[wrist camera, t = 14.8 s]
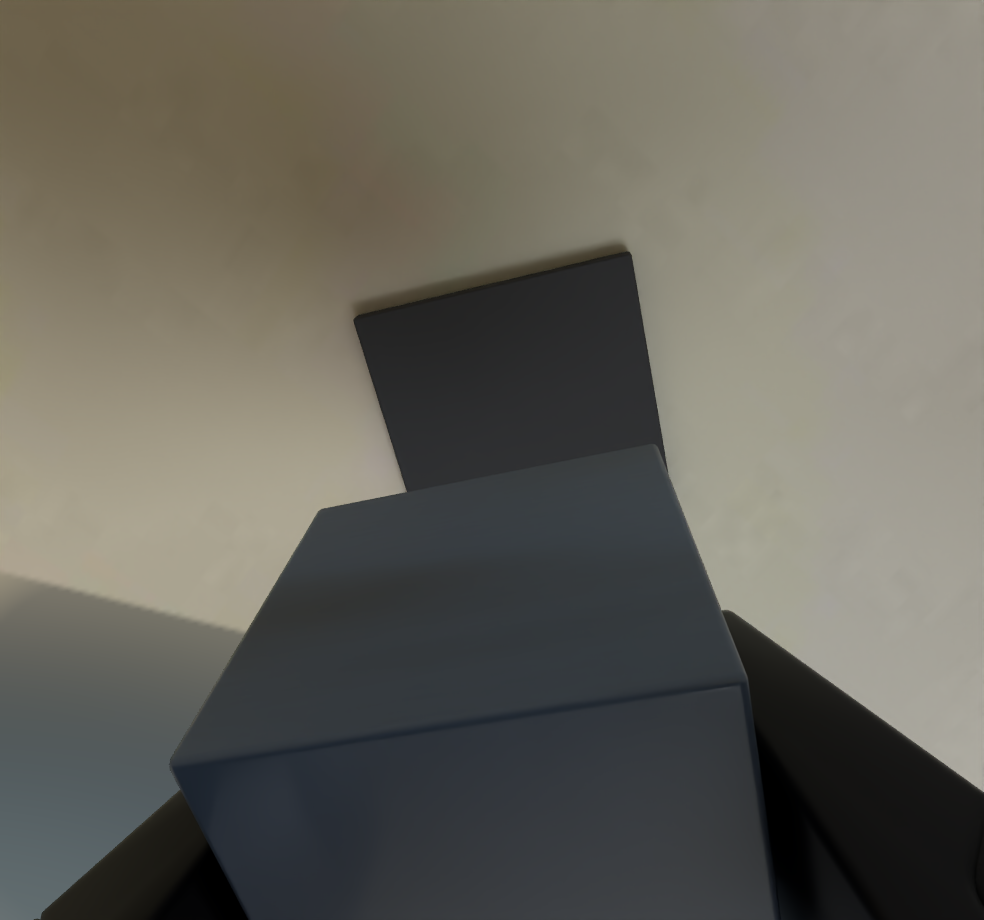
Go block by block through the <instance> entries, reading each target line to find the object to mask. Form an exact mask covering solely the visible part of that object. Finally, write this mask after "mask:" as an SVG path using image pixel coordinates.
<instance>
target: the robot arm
mask: <svg viewBox="0 0 984 920" xmlns="http://www.w3.org/2000/svg"><path fill="white" fill-rule="evenodd" d="M722 613H723V616H724V618H725V621H726V623H727V626H728V628H729V631H730V633H731V636H732V639H733V641H734V644H735V646H736V649H737V651H738V654H739V656H740V659H741V662H742V664H743V667H744V669H745V672H746V674H747V677H748V683H749V690H750V697H751V704H752V711H753V719H754V726H755V733H756V740H757V748H758V755H759V762H760V769H761V777H762V784H763V791H764V798H765V806H766V813H767V820H768V827H769V834H770V842H771V849H772V856H773V863H774V871H775V878H776V885H777V892H778V900H779V907H780V914H781V920H984V792H982V791H981V790H980V789H978V788H977V787H975V786H974V785H973V784H971V783H970V782H969V781H967V780H966V779H964V778H963V777H962V776H960V775H959V774H957V773H956V772H955V771H953V770H952V769H950V768H949V767H948V766H946V765H945V764H943V763H942V762H941V761H939V760H938V759H937V758H935V757H934V756H932V755H931V754H930V753H928V752H927V751H925V750H924V749H923V748H921V747H920V746H918V745H917V744H916V743H914V742H913V741H911V740H910V739H909V738H907V737H906V736H905V735H903V734H902V733H900V732H899V731H898V730H896V729H895V728H893V727H892V726H891V725H889V724H888V723H886V722H885V721H884V720H882V719H881V718H879V717H878V716H877V715H875V714H874V713H873V712H871V711H870V710H868V709H867V708H866V707H864V706H863V705H861V704H860V703H859V702H857V701H856V700H854V699H853V698H852V697H850V696H849V695H847V694H846V693H845V692H843V691H842V690H841V689H839V688H838V687H836V686H835V685H834V684H832V683H831V682H829V681H828V680H827V679H825V678H824V677H822V676H821V675H820V674H818V673H817V672H815V671H814V670H813V669H811V668H810V667H809V666H807V665H806V664H804V663H803V662H802V661H800V660H799V659H797V658H796V657H795V656H793V655H792V654H790V653H789V652H788V651H786V650H785V649H783V648H782V647H781V646H779V645H778V644H777V643H775V642H774V641H772V640H771V639H770V638H768V637H767V636H765V635H764V634H763V633H761V632H760V631H758V630H757V629H756V628H754V627H753V626H751V625H750V624H749V623H747V622H746V621H745V620H743V619H742V618H740V617H739V616H738V615H736V614H735V613H733V612H732V611H729V610H722ZM34 920H40V919H34ZM41 920H248V918H247V916H246V915H245V913H244V911H243V909H242V907H241V905H240V903H239V901H238V899H237V897H236V895H235V893H234V892H233V890H232V888H231V886H230V884H229V882H228V880H227V878H226V876H225V874H224V872H223V870H222V869H221V867H220V865H219V863H218V861H217V859H216V857H215V855H214V853H213V851H212V849H211V847H210V846H209V844H208V842H207V840H206V838H205V836H204V834H203V832H202V830H201V828H200V826H199V824H198V822H197V821H196V819H195V817H194V815H193V813H192V811H191V809H190V807H189V805H188V803H187V801H186V799H185V798H184V796H183V794H182V792H181V790H179V791H178V792H177V793H176V794H175V795H174V796H173V797H172V798H170V799H169V800H168V801H167V802H166V803H165V804H164V805H162V806H161V807H160V808H159V809H158V810H157V811H156V812H155V813H153V814H152V815H151V816H150V817H149V818H148V819H147V820H146V821H145V822H143V823H142V824H141V825H140V826H139V827H138V828H136V829H135V830H134V831H133V832H132V833H131V834H130V835H129V836H127V837H126V838H125V839H124V840H123V841H122V842H121V843H120V844H118V845H117V846H116V847H115V848H114V849H113V850H112V851H111V852H109V853H108V854H107V855H106V856H105V857H104V858H103V859H102V860H101V861H99V862H98V863H97V864H96V865H95V866H94V867H93V868H91V869H90V870H89V871H88V872H87V873H86V874H85V875H84V876H82V877H81V878H80V879H79V880H78V881H77V882H76V883H75V884H74V885H72V886H71V887H70V888H69V889H68V890H67V891H66V892H64V893H63V894H62V895H61V896H60V897H59V898H58V899H57V900H55V901H54V902H53V903H52V904H51V905H50V906H49V907H48V908H47V909H45V911H43V912H42V915H41Z"/></svg>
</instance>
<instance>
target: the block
mask: <svg viewBox="0 0 984 920" xmlns="http://www.w3.org/2000/svg"><path fill="white" fill-rule="evenodd" d="M169 765H170V771H171V773H172V774H173V776H174V778H175V780H176V782H177V784H178V786H179V788H180V790H181V792H182V794H183V796H184V798H185V799H186V801H187V803H188V805H189V807H190V809H191V811H192V813H193V815H194V817H195V819H196V821H197V822H198V824H199V826H200V828H201V830H202V832H203V834H204V836H205V838H206V840H207V842H208V844H209V846H210V847H211V849H212V851H213V853H214V855H215V857H216V859H217V861H218V863H219V865H220V867H221V869H222V870H223V872H224V874H225V876H226V878H227V880H228V882H229V884H230V886H231V888H232V890H233V892H234V893H235V895H236V897H237V899H238V901H239V903H240V905H241V907H242V909H243V911H244V913H245V915H246V916H247V918H248V920H781V914H780V907H779V900H778V892H777V885H776V878H775V871H774V863H773V856H772V849H771V842H770V834H769V827H768V820H767V813H766V806H765V798H764V791H763V784H762V777H761V769H760V762H759V755H758V748H757V740H756V733H755V726H754V719H753V711H752V704H751V697H750V690H749V683H748V677H747V674H746V672H745V669H744V667H743V664H742V662H741V659H740V656H739V654H738V651H737V649H736V646H735V644H734V641H733V639H732V636H731V633H730V631H729V628H728V626H727V623H726V621H725V618H724V616H723V613H722V610H721V608H720V605H719V603H718V600H717V598H716V595H715V593H714V590H713V587H712V585H711V582H710V580H709V577H708V575H707V572H706V570H705V567H704V564H703V562H702V559H701V557H700V554H699V552H698V549H697V547H696V544H695V541H694V539H693V536H692V534H691V531H690V529H689V526H688V524H687V521H686V518H685V516H684V513H683V511H682V508H681V506H680V503H679V500H678V498H677V495H676V493H675V490H674V488H673V485H672V483H671V480H670V477H669V475H668V472H667V470H666V467H665V465H664V462H663V460H662V457H661V454H660V452H659V449H658V447H657V446H656V445H655V444H648V445H643V446H638V447H633V448H628V449H623V450H618V451H613V452H608V453H603V454H598V455H592V456H587V457H582V458H577V459H572V460H567V461H562V462H557V463H552V464H547V465H542V466H537V467H532V468H527V469H522V470H517V471H512V472H506V473H501V474H496V475H491V476H486V477H481V478H476V479H471V480H466V481H461V482H456V483H451V484H446V485H441V486H436V487H431V488H425V489H420V490H415V491H410V492H405V493H400V494H395V495H390V496H385V497H380V498H375V499H370V500H365V501H360V502H355V503H350V504H345V505H339V506H334V507H329V508H324V509H321V510H320V511H318V513H317V514H316V516H315V518H314V520H313V521H312V523H311V525H310V526H309V528H308V530H307V531H306V533H305V535H304V536H303V538H302V540H301V541H300V543H299V545H298V546H297V548H296V550H295V551H294V553H293V555H292V556H291V558H290V560H289V561H288V563H287V565H286V566H285V568H284V570H283V571H282V573H281V575H280V576H279V578H278V580H277V581H276V583H275V585H274V586H273V588H272V590H271V591H270V593H269V595H268V596H267V598H266V600H265V602H264V603H263V605H262V607H261V608H260V610H259V612H258V613H257V615H256V617H255V618H254V620H253V622H252V623H251V625H250V627H249V628H248V630H247V632H246V633H245V635H244V637H243V638H242V640H241V642H240V643H239V645H238V647H237V648H236V650H235V652H234V653H233V655H232V657H231V659H230V660H229V662H228V663H227V665H226V667H225V668H224V670H223V672H222V674H221V675H220V677H219V679H218V680H217V682H216V684H215V685H214V687H213V689H212V690H211V692H210V694H209V695H208V697H207V699H206V700H205V702H204V704H203V705H202V707H201V709H200V710H199V712H198V714H197V715H196V717H195V719H194V720H193V722H192V724H191V725H190V727H189V729H188V730H187V732H186V734H185V735H184V737H183V739H182V740H181V742H180V744H179V746H178V747H177V749H176V750H175V752H174V754H173V756H172V757H171V759H170V764H169Z"/></svg>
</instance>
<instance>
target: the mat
mask: <svg viewBox="0 0 984 920" xmlns="http://www.w3.org/2000/svg"><path fill="white" fill-rule="evenodd" d="M354 324H355V327H356V331H357V334H358V337H359V340H360V343H361V346H362V350H363V353H364V356H365V359H366V362H367V366H368V369H369V372H370V375H371V378H372V382H373V385H374V388H375V391H376V394H377V398H378V401H379V404H380V407H381V410H382V413H383V417H384V420H385V423H386V426H387V429H388V433H389V436H390V439H391V442H392V445H393V449H394V452H395V455H396V458H397V461H398V465H399V468H400V471H401V474H402V477H403V480H404V484H405V487H406V490H407V492H410V491H415V490H420V489H425V488H431V487H436V486H441V485H446V484H451V483H456V482H461V481H466V480H471V479H476V478H481V477H486V476H491V475H496V474H501V473H506V472H512V471H517V470H522V469H527V468H532V467H537V466H542V465H547V464H552V463H557V462H562V461H567V460H572V459H577V458H582V457H587V456H592V455H598V454H603V453H608V452H613V451H618V450H623V449H628V448H633V447H638V446H643V445H648V444H655V445H656V446H657V447H658V449H659V452H660V454H661V457H662V460H663V462H664V465H665V467H666V470H667V472H668V469H667V463H666V458H665V452H664V446H663V440H662V434H661V428H660V422H659V416H658V410H657V404H656V398H655V392H654V386H653V380H652V374H651V368H650V362H649V356H648V350H647V344H646V338H645V333H644V327H643V321H642V315H641V309H640V303H639V297H638V291H637V285H636V279H635V273H634V267H633V261H632V255H631V254H630V253H629V252H623V253H618V254H614V255H610V256H606V257H601V258H597V259H593V260H589V261H585V262H580V263H576V264H572V265H568V266H563V267H559V268H555V269H551V270H547V271H542V272H538V273H534V274H530V275H526V276H521V277H517V278H513V279H509V280H504V281H500V282H496V283H492V284H488V285H483V286H479V287H475V288H471V289H467V290H462V291H458V292H454V293H450V294H445V295H441V296H437V297H433V298H429V299H424V300H420V301H416V302H412V303H407V304H403V305H399V306H395V307H391V308H386V309H382V310H378V311H374V312H370V313H365V314H361V315H358V316H356V317H355V318H354Z"/></svg>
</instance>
